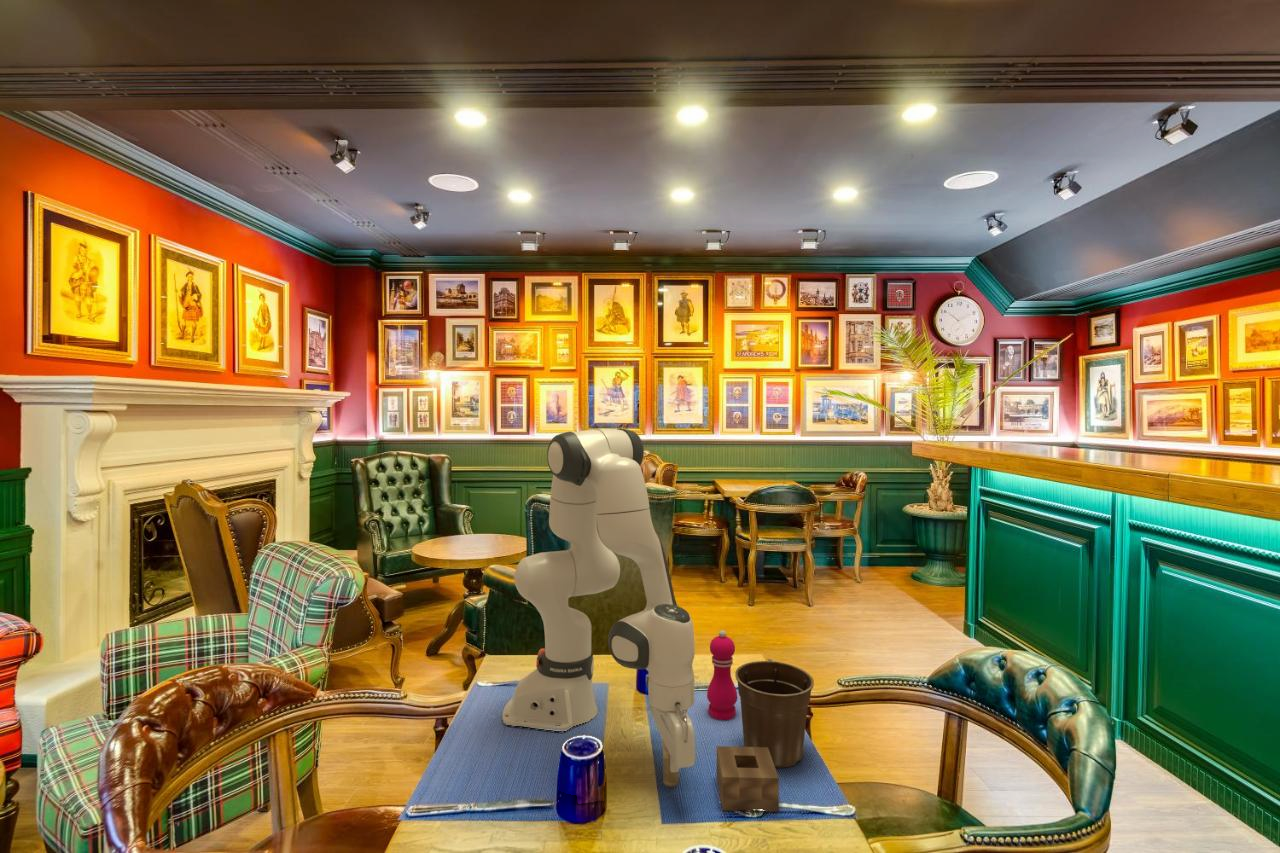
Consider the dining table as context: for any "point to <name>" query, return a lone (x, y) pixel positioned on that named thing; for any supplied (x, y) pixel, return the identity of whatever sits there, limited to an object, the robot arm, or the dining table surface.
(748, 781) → the bore block
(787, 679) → the plant pot
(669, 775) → the pin
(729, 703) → the pepper mill
